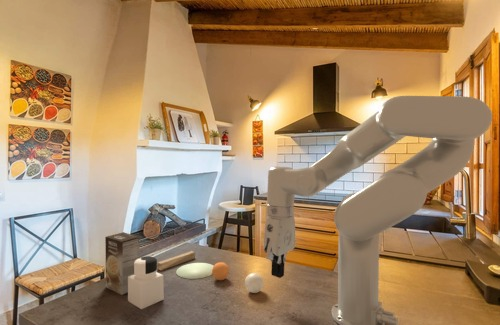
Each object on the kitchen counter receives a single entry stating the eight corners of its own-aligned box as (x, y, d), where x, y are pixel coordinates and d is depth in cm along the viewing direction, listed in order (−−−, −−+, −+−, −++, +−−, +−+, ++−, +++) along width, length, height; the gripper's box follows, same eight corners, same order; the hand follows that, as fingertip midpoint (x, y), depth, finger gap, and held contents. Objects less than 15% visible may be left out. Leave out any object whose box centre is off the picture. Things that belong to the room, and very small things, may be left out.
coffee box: (104, 287, 89) (103, 236, 89) (123, 280, 94) (123, 231, 94) (121, 295, 84) (121, 241, 84) (140, 287, 89) (140, 236, 89)
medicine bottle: (150, 292, 86) (150, 252, 86) (164, 299, 81) (163, 257, 81) (127, 301, 80) (127, 259, 80) (141, 310, 76) (140, 265, 76)
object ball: (232, 279, 95) (232, 262, 95) (220, 284, 91) (220, 267, 91) (220, 274, 99) (220, 258, 99) (208, 280, 94) (208, 263, 94)
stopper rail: (195, 258, 115) (195, 251, 115) (160, 270, 102) (160, 263, 102) (191, 257, 116) (191, 250, 116) (157, 269, 103) (157, 262, 103)
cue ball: (267, 291, 86) (267, 272, 86) (255, 298, 82) (255, 279, 82) (252, 286, 90) (252, 268, 90) (241, 292, 86) (241, 274, 85)
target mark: (224, 269, 103) (224, 268, 103) (194, 282, 92) (194, 282, 92) (198, 260, 112) (198, 260, 112) (168, 271, 101) (168, 271, 101)
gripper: (276, 217, 72) (274, 289, 72) (304, 209, 83) (302, 271, 84) (253, 212, 76) (250, 280, 77) (282, 205, 88) (280, 264, 89)
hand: (277, 275), depth 80 cm, fingers closed
